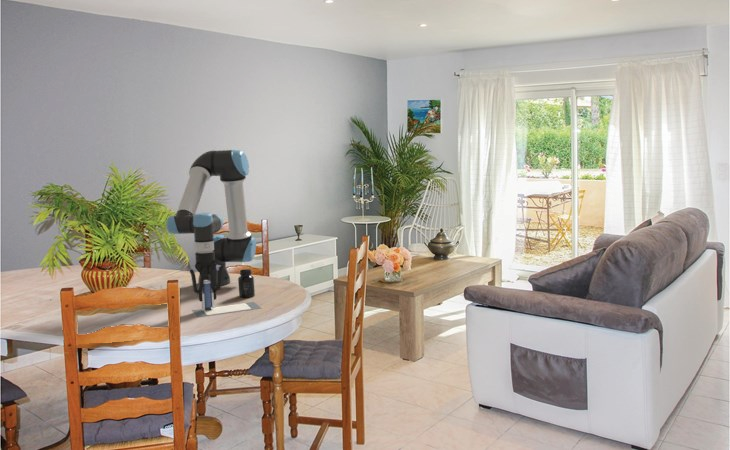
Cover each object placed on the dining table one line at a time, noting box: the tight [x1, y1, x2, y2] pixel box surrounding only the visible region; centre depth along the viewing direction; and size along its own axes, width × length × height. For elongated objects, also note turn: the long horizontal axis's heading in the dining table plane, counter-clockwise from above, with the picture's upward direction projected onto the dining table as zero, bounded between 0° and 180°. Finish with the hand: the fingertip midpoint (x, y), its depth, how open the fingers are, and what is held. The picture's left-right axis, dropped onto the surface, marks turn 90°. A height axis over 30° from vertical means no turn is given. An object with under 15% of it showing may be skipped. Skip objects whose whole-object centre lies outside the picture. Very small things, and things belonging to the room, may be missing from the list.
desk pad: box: [191, 301, 262, 319], centre depth 259 cm, size 12×26×1 cm, turn 115°
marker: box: [202, 280, 212, 310], centre depth 257 cm, size 3×3×12 cm
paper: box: [201, 302, 251, 316], centre depth 259 cm, size 10×18×1 cm, turn 115°
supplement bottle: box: [237, 268, 256, 299], centre depth 279 cm, size 7×7×12 cm
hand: (208, 308), depth 258 cm, fingers closed on marker, 3 cm apart
